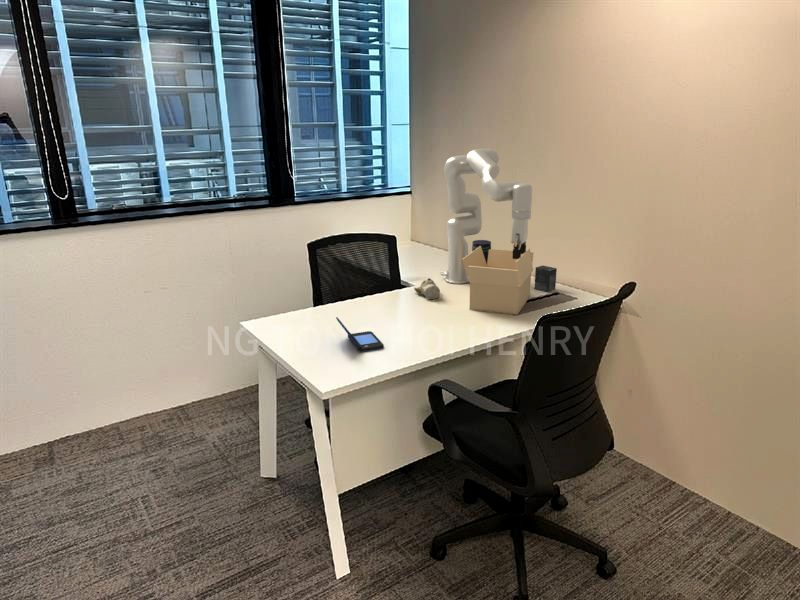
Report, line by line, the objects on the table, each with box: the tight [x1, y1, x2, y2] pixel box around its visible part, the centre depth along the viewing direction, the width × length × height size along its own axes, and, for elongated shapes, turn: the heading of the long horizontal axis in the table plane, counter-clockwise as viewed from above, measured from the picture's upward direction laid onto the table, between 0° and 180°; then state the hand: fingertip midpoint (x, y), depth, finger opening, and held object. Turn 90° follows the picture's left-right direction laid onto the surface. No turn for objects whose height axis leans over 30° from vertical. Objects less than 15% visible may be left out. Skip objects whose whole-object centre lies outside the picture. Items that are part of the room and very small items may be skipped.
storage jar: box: [471, 239, 492, 264], centre depth 279 cm, size 10×10×15 cm
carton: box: [462, 246, 535, 316], centre depth 227 cm, size 24×32×22 cm
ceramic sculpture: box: [414, 278, 441, 300], centre depth 239 cm, size 11×9×15 cm
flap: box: [516, 247, 534, 286], centre depth 220 cm, size 10×25×1 cm
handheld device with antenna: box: [335, 316, 384, 353], centre depth 189 cm, size 16×13×9 cm
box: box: [534, 265, 558, 293], centre depth 244 cm, size 8×6×11 cm
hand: (519, 256), depth 220 cm, fingers open, 9 cm apart
